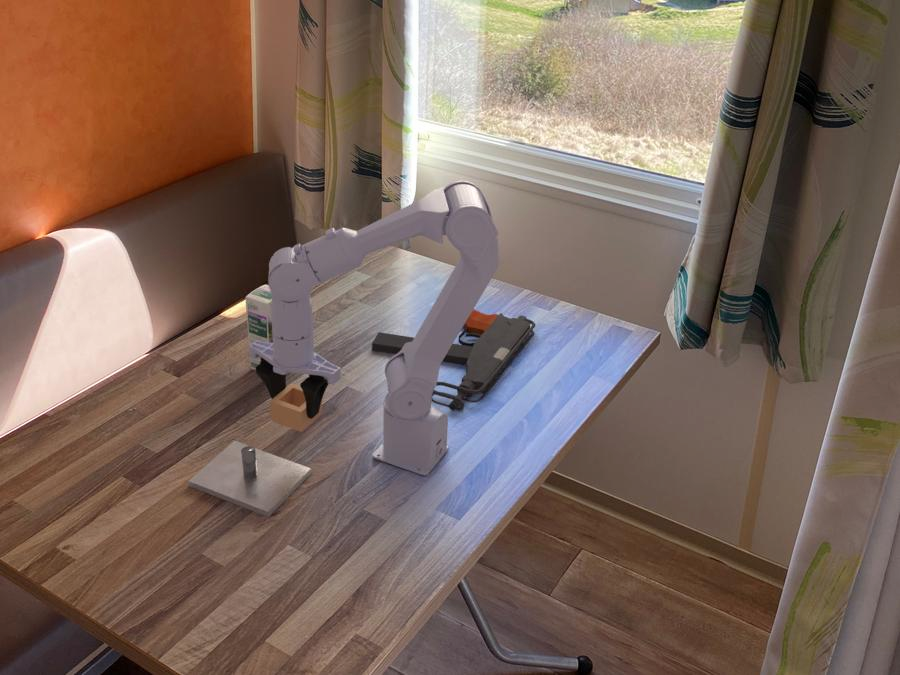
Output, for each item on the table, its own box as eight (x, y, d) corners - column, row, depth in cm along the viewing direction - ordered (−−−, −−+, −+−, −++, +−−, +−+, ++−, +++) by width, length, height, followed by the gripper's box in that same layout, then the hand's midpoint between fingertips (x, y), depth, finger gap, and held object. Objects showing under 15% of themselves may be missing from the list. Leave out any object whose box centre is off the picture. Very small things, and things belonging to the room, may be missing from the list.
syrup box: (249, 369, 170) (243, 296, 162) (269, 353, 174) (265, 282, 167) (275, 378, 168) (271, 305, 160) (296, 362, 172) (292, 290, 165)
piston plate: (311, 473, 146) (309, 444, 143) (268, 517, 138) (266, 487, 135) (234, 445, 151) (232, 417, 149) (188, 486, 143) (185, 456, 140)
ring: (321, 413, 147) (321, 393, 145) (301, 432, 143) (300, 412, 141) (292, 402, 149) (291, 383, 147) (271, 420, 145) (270, 400, 143)
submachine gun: (420, 289, 193) (539, 319, 184) (419, 301, 194) (538, 331, 186) (338, 367, 168) (472, 405, 159) (339, 380, 169) (471, 419, 161)
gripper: (233, 329, 137) (240, 408, 145) (320, 357, 132) (322, 437, 139) (263, 308, 143) (268, 384, 150) (348, 334, 138) (348, 412, 145)
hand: (296, 408), depth 145 cm, fingers closed on ring, 5 cm apart
